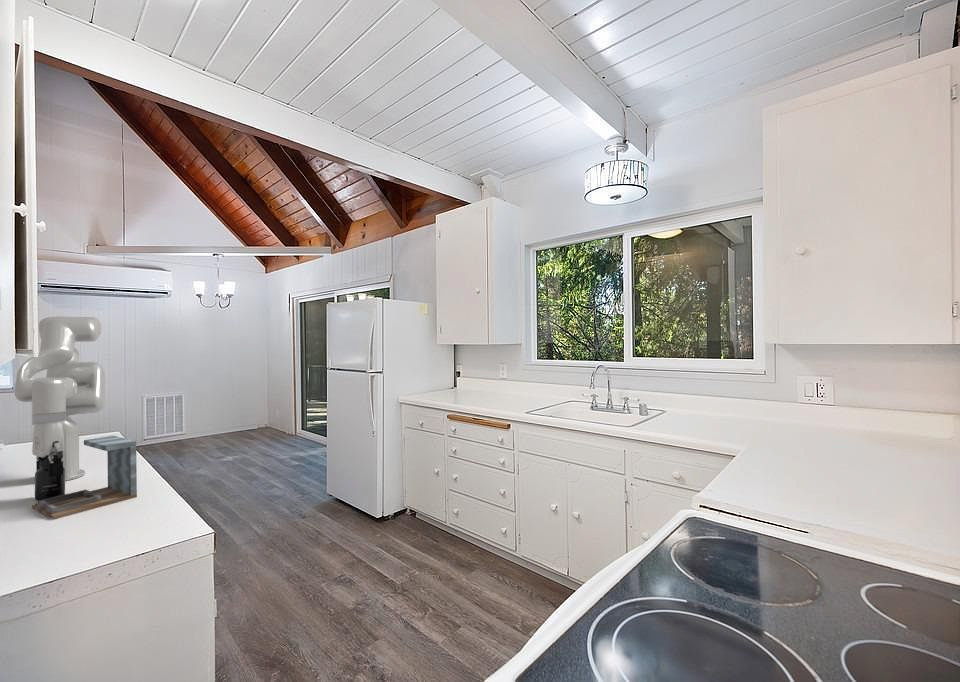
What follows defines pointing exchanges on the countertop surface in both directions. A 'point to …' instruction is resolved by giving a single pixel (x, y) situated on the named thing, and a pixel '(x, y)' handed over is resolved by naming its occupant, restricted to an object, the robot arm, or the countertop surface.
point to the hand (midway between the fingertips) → (49, 474)
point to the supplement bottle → (48, 482)
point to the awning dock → (118, 489)
